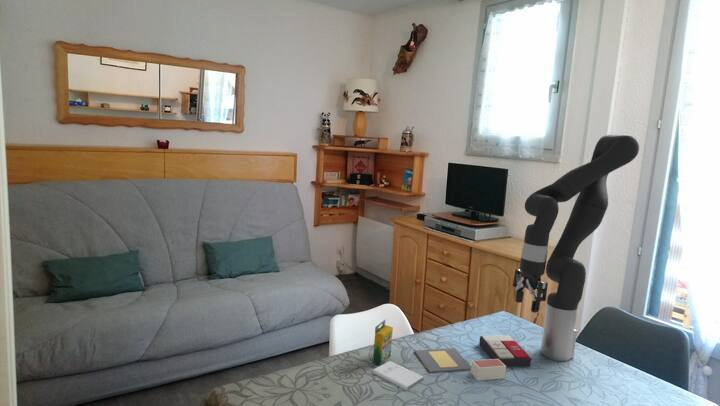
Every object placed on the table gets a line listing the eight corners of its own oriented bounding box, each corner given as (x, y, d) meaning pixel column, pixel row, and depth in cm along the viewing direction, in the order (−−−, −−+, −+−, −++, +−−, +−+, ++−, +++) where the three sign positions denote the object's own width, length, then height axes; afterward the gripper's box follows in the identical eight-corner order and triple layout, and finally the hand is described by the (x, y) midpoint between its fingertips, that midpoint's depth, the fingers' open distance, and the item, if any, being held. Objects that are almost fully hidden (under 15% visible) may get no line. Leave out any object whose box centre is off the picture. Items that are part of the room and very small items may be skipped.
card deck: (496, 371, 136) (498, 358, 135) (504, 378, 131) (506, 366, 131) (470, 373, 134) (471, 360, 133) (477, 381, 129) (479, 367, 129)
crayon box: (381, 365, 134) (383, 329, 133) (372, 363, 136) (374, 327, 134) (391, 356, 141) (393, 321, 139) (382, 353, 142) (384, 319, 140)
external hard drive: (406, 392, 122) (372, 374, 130) (423, 381, 128) (390, 365, 136) (407, 387, 122) (372, 369, 130) (424, 376, 128) (390, 360, 136)
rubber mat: (454, 349, 148) (454, 347, 148) (472, 369, 135) (473, 367, 135) (414, 351, 144) (414, 350, 144) (429, 372, 132) (429, 370, 132)
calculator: (499, 357, 137) (479, 333, 152) (497, 370, 138) (478, 345, 153) (532, 356, 139) (510, 333, 153) (530, 369, 140) (508, 344, 154)
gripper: (558, 264, 134) (550, 315, 137) (530, 252, 148) (523, 299, 150) (537, 263, 133) (529, 315, 135) (510, 251, 146) (503, 298, 149)
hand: (526, 306), depth 143 cm, fingers open, 8 cm apart
